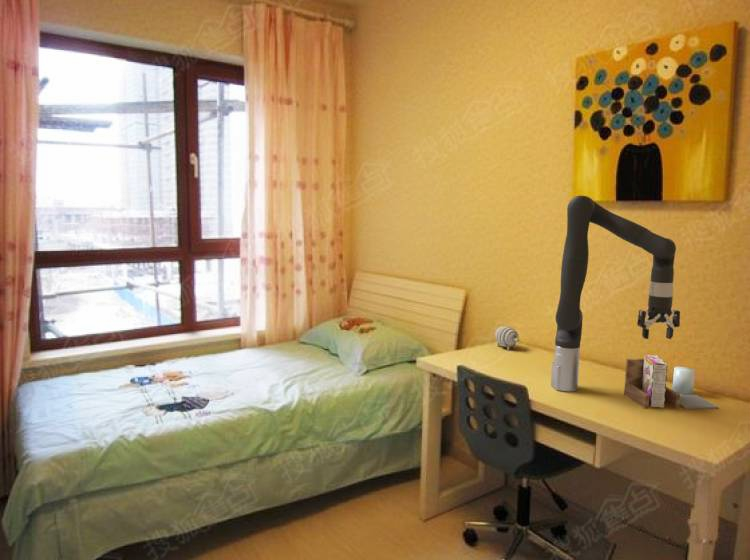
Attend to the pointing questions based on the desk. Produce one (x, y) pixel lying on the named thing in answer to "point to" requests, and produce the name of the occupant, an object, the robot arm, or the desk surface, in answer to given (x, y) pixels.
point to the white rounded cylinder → (683, 380)
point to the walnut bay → (635, 385)
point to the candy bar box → (654, 380)
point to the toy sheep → (506, 337)
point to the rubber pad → (695, 402)
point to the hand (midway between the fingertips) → (657, 338)
